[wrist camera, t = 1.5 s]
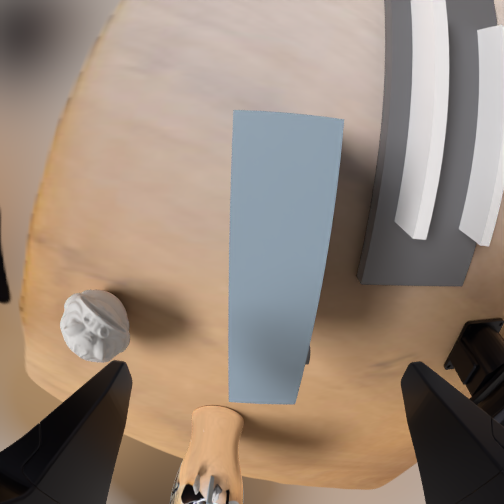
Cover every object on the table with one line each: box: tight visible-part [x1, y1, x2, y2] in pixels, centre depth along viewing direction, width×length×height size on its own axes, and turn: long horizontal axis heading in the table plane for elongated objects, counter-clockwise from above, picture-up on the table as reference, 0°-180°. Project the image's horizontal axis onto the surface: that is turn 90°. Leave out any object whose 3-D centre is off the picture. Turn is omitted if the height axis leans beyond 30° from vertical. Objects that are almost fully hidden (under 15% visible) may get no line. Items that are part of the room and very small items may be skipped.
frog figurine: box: [60, 290, 130, 362], centre depth 21 cm, size 6×7×7 cm
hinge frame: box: [357, 0, 504, 286], centre depth 15 cm, size 10×26×4 cm, turn 177°
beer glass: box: [170, 406, 244, 504], centre depth 24 cm, size 7×7×15 cm
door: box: [229, 110, 344, 404], centre depth 16 cm, size 4×14×10 cm, turn 177°
